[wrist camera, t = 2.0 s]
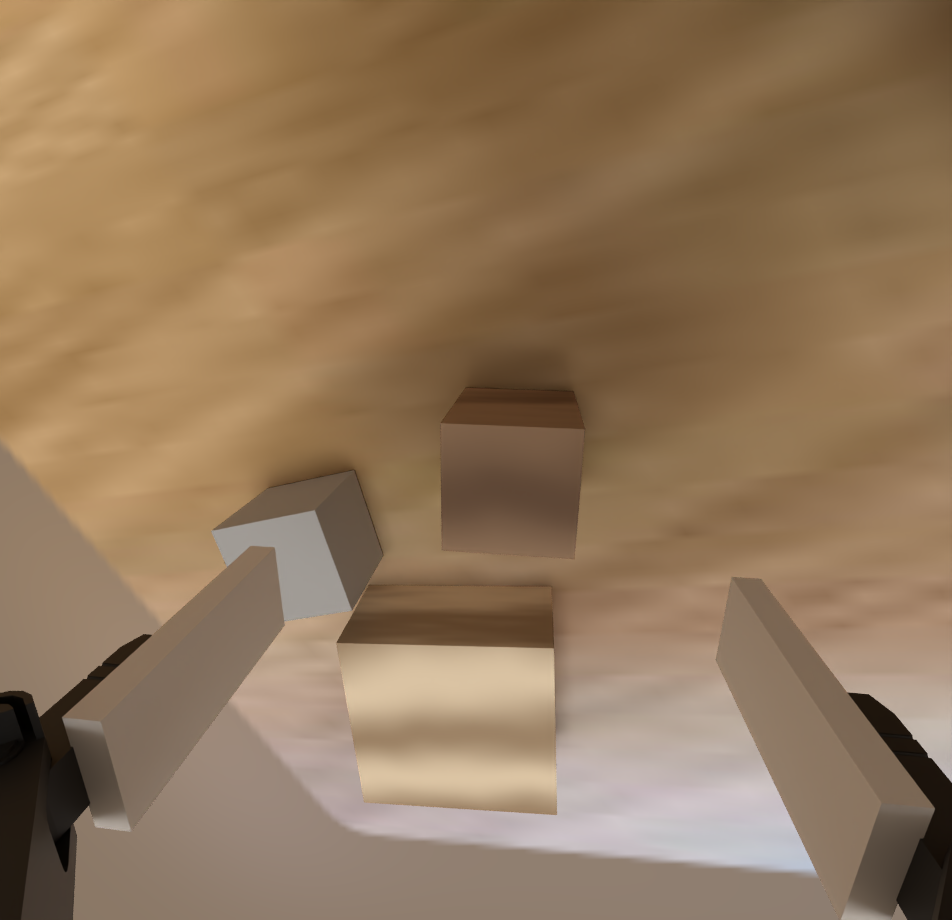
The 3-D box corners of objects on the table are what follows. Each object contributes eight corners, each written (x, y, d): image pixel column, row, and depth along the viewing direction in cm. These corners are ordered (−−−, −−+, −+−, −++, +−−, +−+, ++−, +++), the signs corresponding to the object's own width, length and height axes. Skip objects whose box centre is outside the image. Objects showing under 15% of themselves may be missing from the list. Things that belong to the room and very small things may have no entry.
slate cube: (267, 488, 33) (211, 530, 27) (354, 470, 32) (314, 510, 26) (299, 570, 35) (253, 626, 29) (383, 555, 34) (352, 610, 28)
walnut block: (465, 387, 30) (440, 423, 22) (573, 391, 29) (585, 429, 21) (465, 486, 31) (441, 550, 24) (566, 492, 31) (574, 559, 23)
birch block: (369, 584, 35) (336, 643, 29) (551, 586, 33) (553, 648, 28) (389, 726, 39) (364, 802, 33) (554, 733, 37) (556, 814, 31)
